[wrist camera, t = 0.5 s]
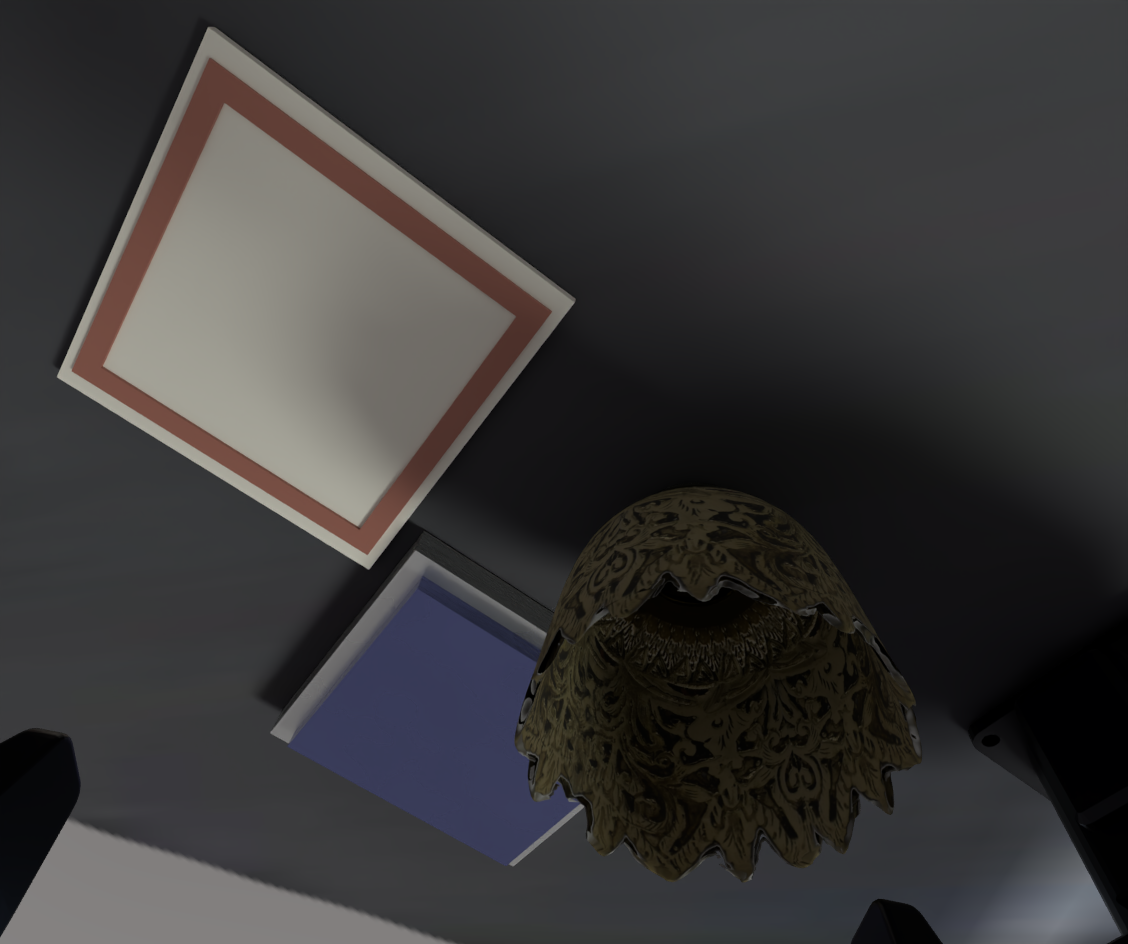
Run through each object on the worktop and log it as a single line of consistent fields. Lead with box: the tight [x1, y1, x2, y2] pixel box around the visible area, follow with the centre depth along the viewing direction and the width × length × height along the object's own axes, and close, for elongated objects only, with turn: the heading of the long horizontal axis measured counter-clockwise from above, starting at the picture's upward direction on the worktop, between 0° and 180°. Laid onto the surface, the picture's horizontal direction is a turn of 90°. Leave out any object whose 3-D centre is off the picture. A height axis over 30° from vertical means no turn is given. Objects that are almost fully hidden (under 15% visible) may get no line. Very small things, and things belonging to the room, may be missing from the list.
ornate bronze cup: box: [514, 483, 922, 882], centre depth 18 cm, size 8×7×8 cm
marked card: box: [57, 27, 576, 570], centre depth 20 cm, size 10×10×1 cm
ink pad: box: [270, 531, 584, 866], centre depth 25 cm, size 10×9×2 cm
